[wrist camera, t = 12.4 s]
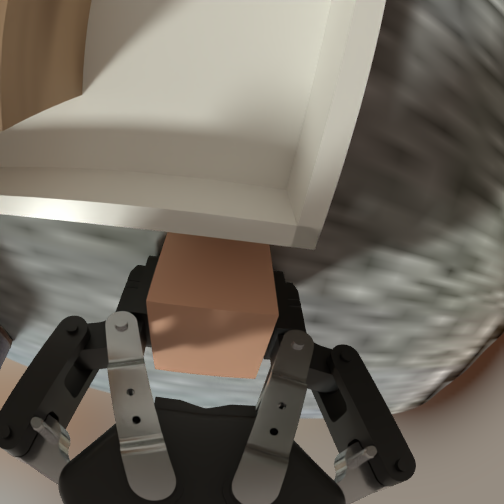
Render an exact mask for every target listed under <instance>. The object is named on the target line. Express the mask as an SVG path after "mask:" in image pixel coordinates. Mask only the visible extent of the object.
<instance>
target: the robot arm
mask: <svg viewBox="0 0 504 504" xmlns="http://www.w3.org/2000/svg"><path fill="white" fill-rule="evenodd" d="M158 260H159V257H156V256H149V257H148V260H147V263H146V266H142V265H137V266H136V267H135V268H134V269H133V270H132V271H131V272H130V275H129V277H128V281H127V283H126V285H125V288H124V291H123V293H122V296H121V299H120V301H119V304H118V307H117V310H116V312H115V313H113V314H111V315H110V316H109V317H108V318H107V320H106V321H103V322H99V323H89V324H87V323H86V321H85V320H84V319H83V318H82V317H79V316H69V317H67V318H65V319H63V320H62V321H61V322H60V324H59V325H58V326H57V328H56V329H55V330H54V332H53V333H52V334H51V336H50V337H49V338H48V340H47V341H46V342H45V344H44V345H43V347H42V348H41V349H40V351H39V352H38V354H37V355H36V356H35V358H34V359H33V361H32V362H31V364H30V365H29V367H28V368H27V370H26V371H25V373H24V374H23V376H22V377H21V379H20V380H19V382H18V383H17V385H16V386H15V388H14V389H13V391H12V392H11V394H10V396H9V397H8V399H7V401H6V402H5V404H4V405H3V407H2V409H1V410H0V447H1V448H2V449H4V450H5V451H7V452H8V453H9V454H10V455H12V456H13V457H15V458H16V459H18V460H20V461H22V462H24V463H26V464H29V465H30V466H31V467H33V468H34V469H36V470H37V471H38V472H40V473H41V474H43V475H44V476H46V477H47V478H49V479H50V480H52V481H53V482H55V483H56V484H58V485H59V493H60V496H61V498H62V501H63V503H64V504H351V503H353V502H355V501H357V500H359V499H361V498H364V497H366V496H367V495H370V494H372V493H375V492H378V491H380V490H383V489H386V488H388V487H391V486H394V485H396V484H398V483H401V482H403V481H406V480H408V479H409V478H411V476H412V475H413V474H414V472H415V468H416V463H415V459H414V457H413V455H412V453H411V451H410V449H409V447H408V445H407V443H406V441H405V439H404V438H403V436H402V433H401V431H400V429H399V428H398V426H397V424H396V422H395V420H394V418H393V416H392V414H391V412H390V410H389V409H388V407H387V405H386V403H385V401H384V399H383V397H382V395H381V394H380V392H379V390H378V388H377V386H376V384H375V383H374V381H373V379H372V377H371V375H370V373H369V372H368V370H367V368H366V366H365V364H364V363H363V361H362V359H361V357H360V356H359V354H358V352H357V351H356V350H355V349H354V348H352V347H351V346H348V345H337V346H335V347H334V348H333V349H329V348H326V347H323V346H320V345H318V344H316V343H314V342H313V339H312V338H311V336H310V335H309V334H307V333H306V329H305V323H304V318H303V313H302V308H301V303H300V301H299V300H300V299H299V294H298V290H297V289H296V287H295V286H294V285H293V283H288V282H285V279H284V273H283V271H274V270H273V274H274V282H275V289H276V297H277V304H278V312H279V316H278V319H277V322H276V324H275V327H274V330H273V333H272V335H271V338H270V341H269V344H268V346H267V349H266V352H265V354H264V359H270V361H271V367H270V369H269V372H268V374H267V377H266V380H265V383H264V386H263V388H262V391H261V394H260V397H259V399H258V402H257V405H256V406H248V405H226V406H220V407H214V408H202V407H199V406H196V405H193V404H190V403H187V402H184V401H181V400H176V399H168V398H161V397H156V398H155V403H154V402H153V398H152V393H151V389H150V385H149V380H148V376H147V371H146V367H145V362H144V357H143V356H144V352H145V347H152V345H151V338H150V330H149V322H148V314H147V304H146V300H147V296H148V293H149V289H150V286H151V283H152V279H153V276H154V273H155V269H156V266H157V263H158ZM103 368H107V369H108V378H109V385H110V392H111V398H112V404H113V410H114V415H115V421H116V424H114V425H113V426H112V427H111V428H110V429H109V430H107V431H106V432H105V433H104V434H103V435H101V436H100V437H99V438H98V439H97V440H95V441H94V442H93V443H92V444H91V445H89V446H88V447H87V448H86V449H84V450H83V451H82V452H81V453H80V454H78V455H77V456H76V457H75V458H73V459H72V460H71V461H70V459H69V456H68V449H69V446H70V437H69V434H68V432H67V431H66V427H67V426H68V424H69V422H70V420H71V418H72V416H73V414H74V413H75V411H76V409H77V407H78V405H79V404H80V402H81V400H82V398H83V396H84V395H85V393H86V391H87V389H88V388H89V386H90V384H91V382H92V381H93V379H94V377H95V376H96V374H97V372H98V371H99V369H103ZM307 388H308V389H311V390H312V393H313V395H314V397H315V399H316V402H317V404H318V406H319V408H320V411H321V413H322V415H323V418H324V420H325V422H326V424H327V427H328V429H329V431H330V434H331V436H332V438H333V440H334V443H335V445H336V447H337V449H338V452H339V454H338V455H337V457H336V458H335V462H334V467H335V471H336V476H335V480H333V479H332V478H330V477H329V476H328V475H327V474H326V473H325V472H324V471H323V470H322V469H321V468H320V467H319V466H318V465H317V464H316V463H315V462H314V461H313V460H312V459H311V458H310V457H309V456H308V455H307V454H306V453H305V452H304V450H303V449H302V448H301V447H300V446H299V445H298V444H297V443H296V442H295V441H294V437H295V433H296V430H297V426H298V422H299V419H300V415H301V411H302V407H303V403H304V399H305V395H306V391H307Z"/></svg>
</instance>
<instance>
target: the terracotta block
mask: <svg viewBox="0 0 504 504" xmlns="http://www.w3.org/2000/svg"><path fill="white" fill-rule="evenodd" d="M146 304H147V314H148V322H149V330H150V338H151V345H152V352H153V359H154V365H155V369H159V370H166V371H173V372H181V373H190V374H199V375H210V376H221V377H234V378H251V379H255V378H256V375H257V373H258V370H259V368H260V365H261V362H262V360H263V357H264V354H265V352H266V349H267V346H268V344H269V341H270V338H271V335H272V333H273V330H274V327H275V324H276V322H277V319H278V316H279V312H278V304H277V297H276V289H275V282H274V274H273V267H272V260H271V253H270V245H269V244H263V243H255V242H247V241H239V240H231V239H222V238H214V237H206V236H197V235H189V234H180V233H172V232H168V233H167V235H166V238H165V241H164V244H163V247H162V251H161V254H160V257H159V260H158V263H157V266H156V269H155V273H154V276H153V279H152V283H151V286H150V289H149V293H148V296H147V300H146Z"/></svg>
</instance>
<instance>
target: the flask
mask: <svg viewBox="0 0 504 504" xmlns="http://www.w3.org/2000/svg"><path fill="white" fill-rule="evenodd" d="M11 344H12V339H10V337H9V335H8V333H7V332H6V331H5V330H4V328H3V327H2V326H0V369H1V366H2V364H3V362H4V360H5V358H6V356H7V354H8V351H9V349H10V348H11Z"/></svg>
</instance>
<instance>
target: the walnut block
mask: <svg viewBox="0 0 504 504" xmlns="http://www.w3.org/2000/svg"><path fill="white" fill-rule="evenodd" d="M90 6H91V0H0V132H1V131H4V130H6V129H8V128H10V127H12V126H14V125H15V124H17V123H19V122H21V121H23V120H25V119H27V118H29V117H31V116H34V115H36V114H38V113H40V112H42V111H44V110H47V109H49V108H51V107H53V106H56V105H58V104H61V103H63V102H65V101H68V100H70V99H73V98H76V97H78V96H81V95H82V87H83V67H84V54H85V43H86V34H87V26H88V19H89V12H90Z"/></svg>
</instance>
